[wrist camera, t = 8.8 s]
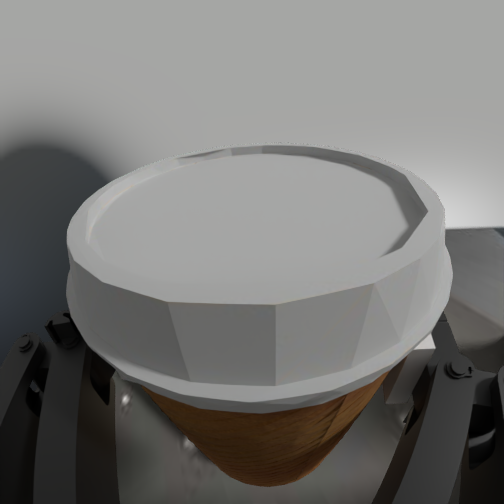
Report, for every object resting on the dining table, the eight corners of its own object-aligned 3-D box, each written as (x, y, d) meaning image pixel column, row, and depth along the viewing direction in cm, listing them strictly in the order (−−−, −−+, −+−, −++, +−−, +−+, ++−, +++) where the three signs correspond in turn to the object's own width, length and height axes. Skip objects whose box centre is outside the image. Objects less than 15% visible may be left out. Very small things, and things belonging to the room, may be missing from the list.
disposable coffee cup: (276, 556, 8) (282, 538, 1) (137, 427, 13) (22, 211, 7) (398, 409, 13) (483, 179, 7) (262, 333, 19) (248, 132, 13)
